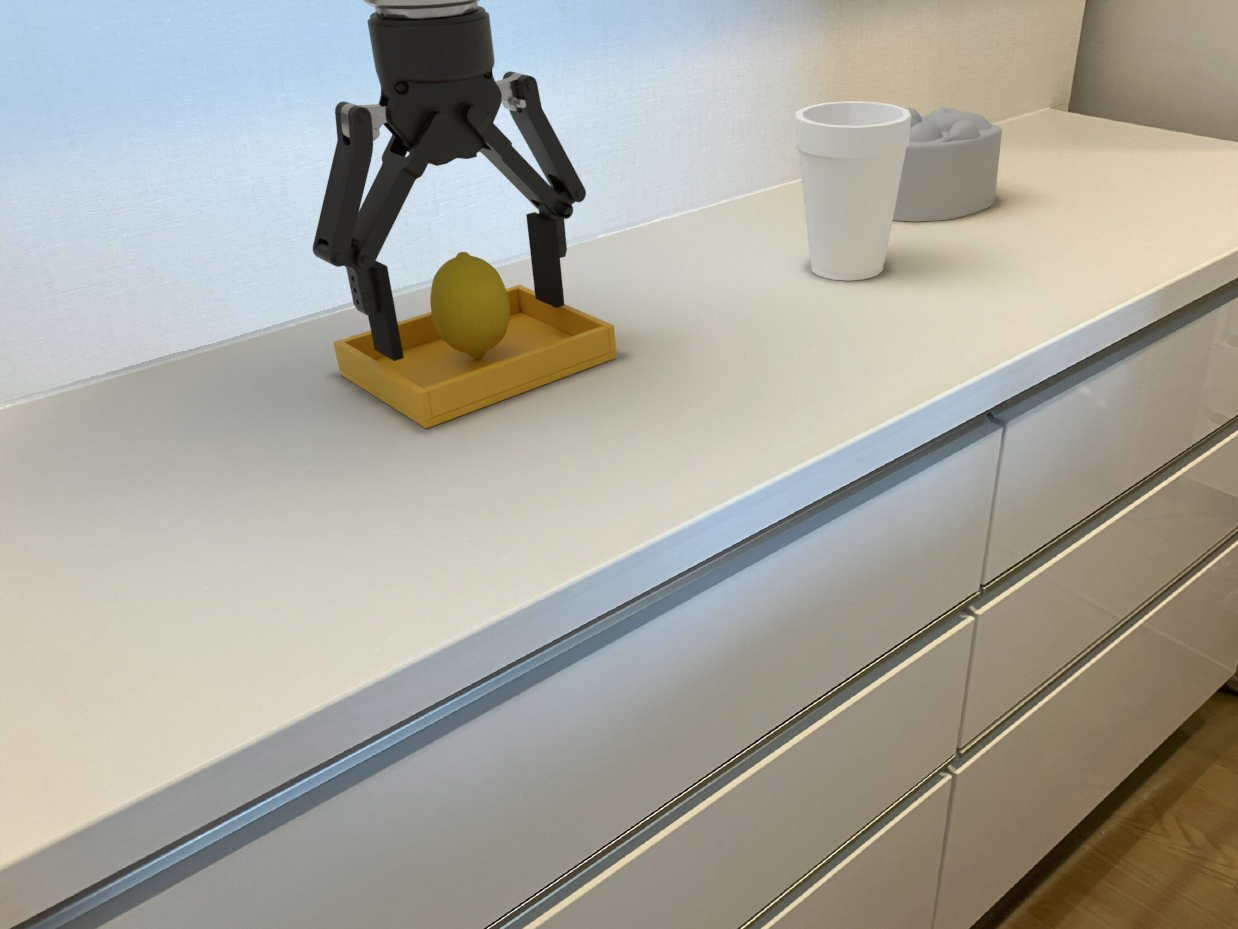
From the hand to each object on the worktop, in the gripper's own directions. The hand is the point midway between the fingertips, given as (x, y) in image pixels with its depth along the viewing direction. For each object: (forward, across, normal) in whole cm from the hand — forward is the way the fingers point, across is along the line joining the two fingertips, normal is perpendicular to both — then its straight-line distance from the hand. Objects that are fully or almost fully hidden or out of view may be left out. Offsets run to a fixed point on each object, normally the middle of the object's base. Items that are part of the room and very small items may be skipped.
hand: (473, 327), depth 83 cm
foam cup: (+3, +34, -5) cm, 35 cm away
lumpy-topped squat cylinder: (+3, +54, +1) cm, 54 cm away
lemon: (+3, 0, 0) cm, 3 cm away
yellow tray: (+3, 0, 0) cm, 3 cm away
